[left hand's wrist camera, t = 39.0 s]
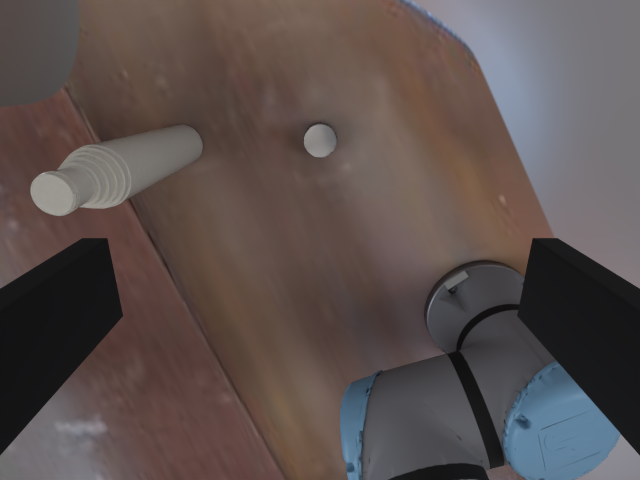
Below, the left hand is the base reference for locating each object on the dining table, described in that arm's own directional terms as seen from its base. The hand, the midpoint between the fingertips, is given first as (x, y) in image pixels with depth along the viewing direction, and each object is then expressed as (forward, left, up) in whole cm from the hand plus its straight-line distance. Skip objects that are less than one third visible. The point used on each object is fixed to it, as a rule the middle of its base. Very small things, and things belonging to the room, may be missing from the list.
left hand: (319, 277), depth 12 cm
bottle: (+17, 0, -38) cm, 42 cm away
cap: (0, 0, -36) cm, 36 cm away
